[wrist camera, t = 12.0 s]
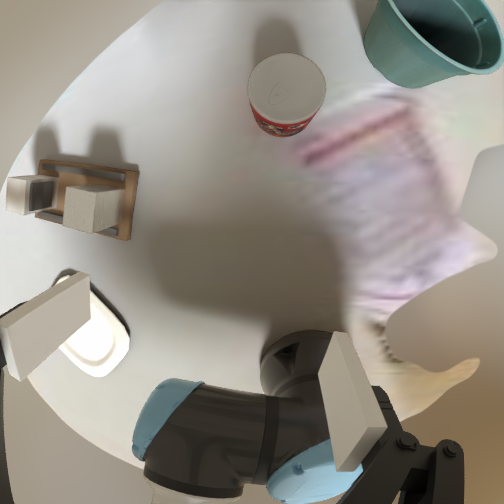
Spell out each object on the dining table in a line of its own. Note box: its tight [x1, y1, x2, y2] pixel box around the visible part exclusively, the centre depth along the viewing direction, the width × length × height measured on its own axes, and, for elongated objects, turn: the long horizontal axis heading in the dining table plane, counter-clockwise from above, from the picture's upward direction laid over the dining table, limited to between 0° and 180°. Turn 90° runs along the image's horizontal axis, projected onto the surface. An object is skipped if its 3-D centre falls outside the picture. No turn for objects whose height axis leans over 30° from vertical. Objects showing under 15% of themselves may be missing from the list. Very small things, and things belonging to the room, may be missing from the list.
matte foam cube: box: [63, 184, 126, 234], centre depth 35 cm, size 6×5×8 cm
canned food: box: [248, 53, 326, 137], centre depth 30 cm, size 8×8×11 cm
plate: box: [54, 275, 130, 377], centre depth 46 cm, size 18×18×2 cm
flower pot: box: [364, 0, 504, 88], centre depth 24 cm, size 16×16×16 cm
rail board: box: [6, 160, 139, 241], centre depth 36 cm, size 10×20×9 cm, turn 78°
